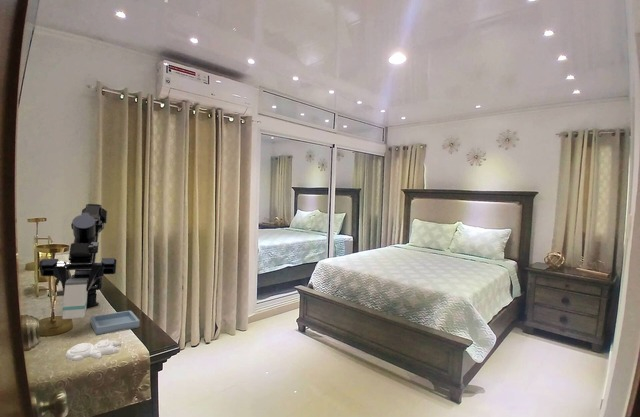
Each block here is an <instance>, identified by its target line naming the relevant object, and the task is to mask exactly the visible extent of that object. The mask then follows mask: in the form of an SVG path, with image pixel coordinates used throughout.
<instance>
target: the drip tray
mask: <svg viewBox="0 0 640 417" xmlns="http://www.w3.org/2000/svg"><path fill="white" fill-rule="evenodd" d="M89 318H90V321H89V324H90V325H91V328H92V330H93V331H94V333H95V335H96V336H100V335H106V334H110V333H109V332H111V333H115V332H114V331H117V332H120V331H119V330H122V331H124V330H123V329H127V330H131V329H137V328H140V323H141V321H140V319H139V318H138V317H137V315H135V313H134V312H133V311H132V310H125V311H118V312H111V313H104V314H99V315H98V314H97V315H91V316H90V317H89ZM105 333H106V334H105Z"/></svg>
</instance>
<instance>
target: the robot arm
mask: <svg viewBox="0 0 640 417" xmlns="http://www.w3.org/2000/svg"><path fill="white" fill-rule="evenodd" d="M107 222H108V211H107V210H106V209H104V208H103V205H102V204H99V203H98V204H97V203H87V204H85V208H82V209H81V214H80V215H77V216H75V217H74V218H73V219H72V222H71V230H72V232H73V233H72V234H73V237H74V238H73V239H74V240H73V242H72V243H70V246H69V253H68V257H67V258H68V261H69V262H65V261H59V258H43V259H41V260H40V261H39V264H38V269H39V272H40V273H39V274H40V276H41V277H54V279H57V278H59V280H60V281H59V283H60V284H61V286H62V291H63V292H64V291H65V282H66V281H67V273H66V271H67V270H70V271H74V274H71V276H72V279H74V278H89V280H88V283H87V289H86V291H88V292H87V305H86V309H89V308H92V307H95V306H98V305H100V303H99V302H97V297H98V296H97V291H99V290H101V289H102V284H103V277H104V275H115V274H116V272H117V271H116V270H117V259H116V258H115V257H106V258H105V257H102V258H101V262H96V260H97V254H98V253H99V242H98V241H99V235H100V234H99V233H101V232H102V231H103V230H104V228H105V224H107Z"/></svg>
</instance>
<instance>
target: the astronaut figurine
mask: <svg viewBox="0 0 640 417" xmlns="http://www.w3.org/2000/svg"><path fill="white" fill-rule="evenodd" d="M120 345H121V346H122V342H121V341H119V340H118V341H117V340H111V339H110V338H106V339H101V340H99V341H97V342H96V343H95V344H93V343H90V342H82V343H81V342H80V343H78V344H74V345H73V346H72V347H71V348H69V349H68V350H67V351H66V353H65V358H66V359H67V360H71V361H74V362H75V361H76V362H77V361H81V360H83V359H85V358H89V357H91V358H92V359H93V358H94V359H97V360H98V359H101V358H102V357H103V356H105V355H114V354H117V352H118V353H119V352H120V348H119V347H117V346H120ZM121 346H120V347H121Z"/></svg>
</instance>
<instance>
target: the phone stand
mask: <svg viewBox="0 0 640 417" xmlns="http://www.w3.org/2000/svg"><path fill="white" fill-rule="evenodd" d="M66 273H67V280H68V279H72V274H71V270H67V271H66ZM55 281H56V285H57V287H58V286H59V284H60V280H59V278H55ZM56 291H57V290H56ZM61 296H64V292H63V290H58V291H57V296H56V297H61ZM47 297H51V296H49V293H48V294H47Z"/></svg>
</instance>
